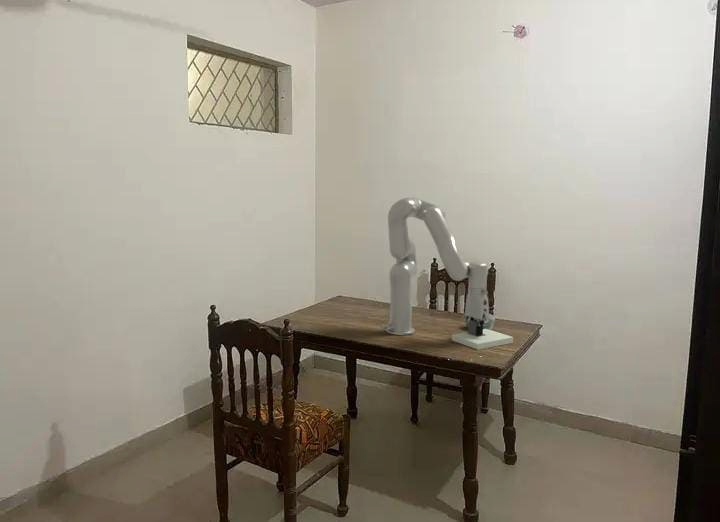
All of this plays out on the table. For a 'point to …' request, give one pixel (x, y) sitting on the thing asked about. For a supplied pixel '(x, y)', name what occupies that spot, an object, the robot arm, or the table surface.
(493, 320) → the streaked blue-grey ovoid
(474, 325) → the gray rectangular block
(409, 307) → the robot arm
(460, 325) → the table surface
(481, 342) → the board
